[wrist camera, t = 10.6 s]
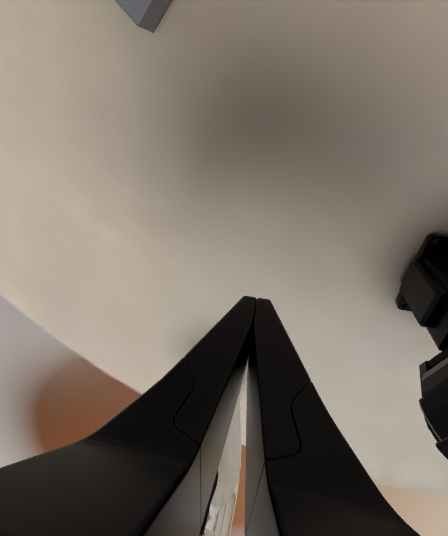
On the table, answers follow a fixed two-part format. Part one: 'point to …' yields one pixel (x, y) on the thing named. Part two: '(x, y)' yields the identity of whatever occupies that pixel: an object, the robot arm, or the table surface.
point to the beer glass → (225, 480)
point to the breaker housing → (145, 11)
